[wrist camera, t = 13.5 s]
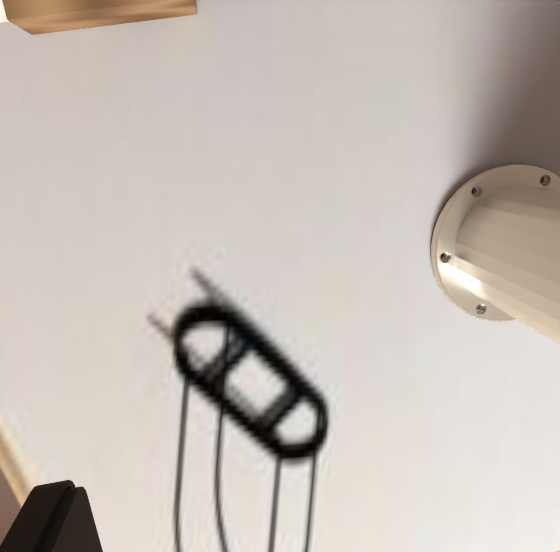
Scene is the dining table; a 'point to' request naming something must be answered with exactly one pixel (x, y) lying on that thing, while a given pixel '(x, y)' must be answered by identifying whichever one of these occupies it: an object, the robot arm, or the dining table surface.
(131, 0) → the socket
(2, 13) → the soap
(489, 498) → the dining table surface
